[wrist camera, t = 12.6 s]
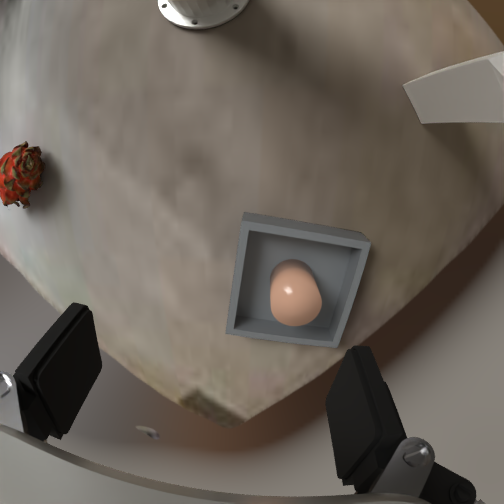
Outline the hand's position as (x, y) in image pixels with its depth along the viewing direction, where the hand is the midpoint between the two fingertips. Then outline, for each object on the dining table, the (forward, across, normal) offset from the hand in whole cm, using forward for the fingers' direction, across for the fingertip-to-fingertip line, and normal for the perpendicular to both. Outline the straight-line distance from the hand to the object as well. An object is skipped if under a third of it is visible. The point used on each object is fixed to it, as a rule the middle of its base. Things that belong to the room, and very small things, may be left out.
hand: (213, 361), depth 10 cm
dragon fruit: (+32, +35, +1) cm, 47 cm away
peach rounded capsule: (+29, -8, +11) cm, 32 cm away
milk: (+31, -22, -18) cm, 42 cm away
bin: (+30, -8, +11) cm, 33 cm away
